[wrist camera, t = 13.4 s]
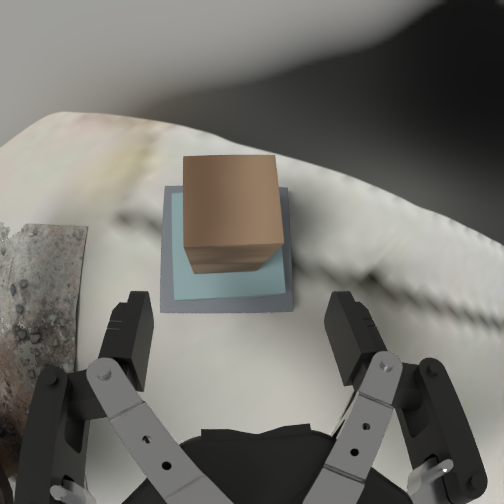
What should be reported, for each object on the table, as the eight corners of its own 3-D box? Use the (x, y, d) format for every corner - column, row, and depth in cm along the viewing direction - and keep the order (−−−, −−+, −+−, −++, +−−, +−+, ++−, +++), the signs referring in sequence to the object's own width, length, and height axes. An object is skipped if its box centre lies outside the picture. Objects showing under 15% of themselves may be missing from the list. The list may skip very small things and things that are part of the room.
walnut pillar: (252, 212, 26) (275, 155, 17) (256, 271, 26) (284, 243, 16) (192, 214, 26) (183, 156, 16) (194, 274, 25) (183, 247, 15)
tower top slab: (269, 200, 30) (275, 189, 27) (278, 294, 28) (285, 292, 25) (175, 205, 29) (171, 193, 26) (178, 301, 27) (174, 299, 24)
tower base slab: (281, 198, 34) (287, 187, 31) (285, 311, 31) (293, 311, 28) (169, 197, 32) (165, 186, 29) (165, 312, 30) (160, 312, 27)
